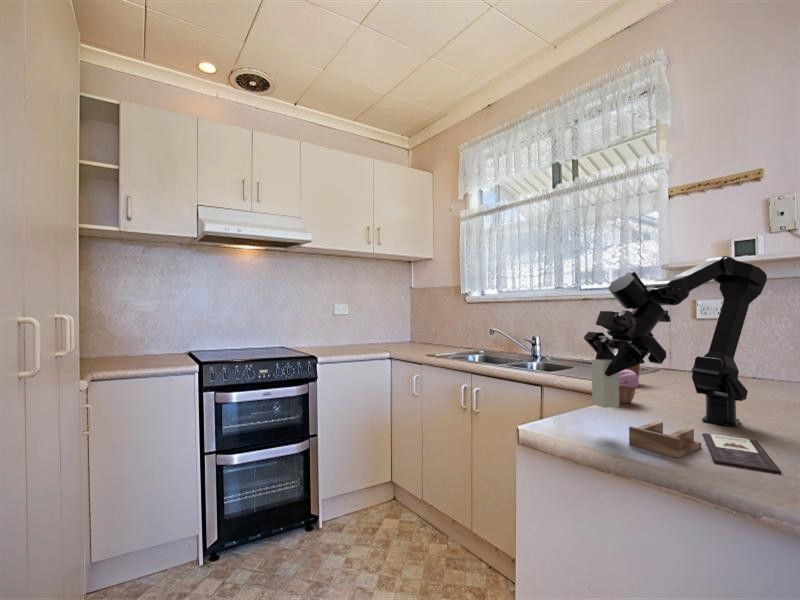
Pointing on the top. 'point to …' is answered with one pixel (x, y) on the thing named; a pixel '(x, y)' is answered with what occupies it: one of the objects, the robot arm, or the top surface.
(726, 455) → the chocolate bar
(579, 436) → the top surface
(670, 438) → the tray
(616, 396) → the pale green rectangular block
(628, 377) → the cupcake
